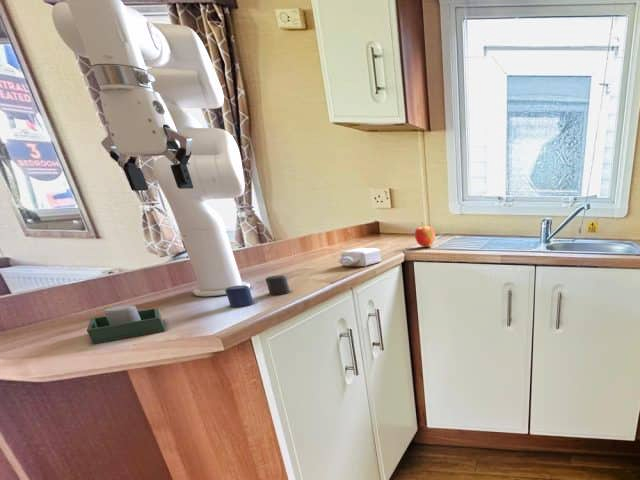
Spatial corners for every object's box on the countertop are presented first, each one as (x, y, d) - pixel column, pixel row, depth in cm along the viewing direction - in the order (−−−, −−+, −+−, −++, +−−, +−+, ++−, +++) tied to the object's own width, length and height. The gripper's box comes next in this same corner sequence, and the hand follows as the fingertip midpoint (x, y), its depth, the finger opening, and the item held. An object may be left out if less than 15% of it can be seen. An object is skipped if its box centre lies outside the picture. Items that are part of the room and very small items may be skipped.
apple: (439, 246, 179) (437, 221, 174) (424, 248, 173) (421, 222, 169) (428, 245, 184) (425, 220, 180) (413, 247, 179) (409, 222, 174)
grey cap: (113, 328, 80) (103, 308, 79) (143, 323, 83) (135, 303, 81) (112, 334, 77) (102, 312, 75) (144, 328, 80) (135, 307, 78)
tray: (97, 331, 81) (90, 318, 80) (162, 320, 87) (157, 307, 86) (93, 344, 74) (86, 330, 73) (165, 331, 80) (159, 317, 79)
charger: (330, 269, 135) (359, 261, 148) (354, 270, 133) (381, 262, 145) (327, 254, 133) (356, 247, 146) (351, 254, 131) (379, 247, 143)
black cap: (267, 293, 107) (263, 277, 105) (287, 290, 109) (283, 274, 108) (272, 296, 104) (267, 279, 102) (292, 292, 106) (287, 276, 104)
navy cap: (229, 304, 97) (223, 287, 95) (251, 301, 99) (246, 284, 98) (232, 308, 94) (226, 290, 92) (255, 304, 96) (250, 287, 95)
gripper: (186, 84, 77) (218, 187, 84) (101, 90, 78) (140, 190, 86) (151, 74, 70) (189, 188, 77) (59, 81, 72) (104, 191, 79)
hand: (163, 189), depth 81 cm, fingers open, 9 cm apart
